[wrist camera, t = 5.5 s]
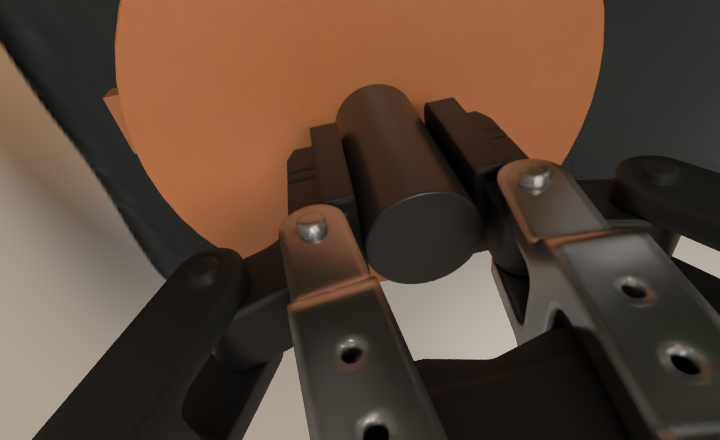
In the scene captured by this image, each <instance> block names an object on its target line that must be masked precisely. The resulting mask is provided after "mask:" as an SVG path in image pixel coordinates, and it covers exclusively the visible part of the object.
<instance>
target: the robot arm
mask: <svg viewBox="0 0 720 440" xmlns="http://www.w3.org/2000/svg"><path fill="white" fill-rule="evenodd" d="M424 123H425V126H426V127H427V129H428V130H429V132H430V134H431V135H432V137H433V138H434V140H435V141H436V143H437V145H438V146H439V148H440V149H441V151H442V153H443V154H444V156H445V157H446V159H447V160H448V162H449V164H450V165H451V167H452V168H453V170H454V172H455V173H456V175H457V176H458V178H459V180H460V181H461V183H462V184H463V186H464V187H465V189H466V191H467V192H468V194H469V195H470V197H471V199H472V200H473V202H474V203H475V205H476V206H477V208H478V210H479V211H480V214H481V216H482V221H483V233H482V238H481V241H480V243H479V246H478V247H477V249H476V251H475V252H474V253H477V252H482V251H486V250H489V252H490V253H491V255H492V266H491V271H492V275H493V278H494V281H495V283H496V286H497V289H498V291H499V294H500V297H501V299H502V302H503V305H504V307H505V310H506V313H507V315H508V318H509V321H510V323H511V326H512V328H513V331H514V334H515V337H516V340H517V345H518V347H516V348H514V349H512V350H510V351H508V352H506V353H505V354H503V355H501V356H499V357H497V358H494V359H489V360H462V359H461V360H459V359H422V360H417V361H414V360H413V358H412V356H411V353H410V351H409V349H408V347H407V344H406V342H405V340H404V338H403V336H402V333H401V331H400V329H399V326H398V324H397V322H396V319H395V317H394V315H393V313H392V310H391V308H390V306H389V304H388V301H387V299H386V297H385V294H384V292H383V290H382V288H381V285H380V283H379V281H378V279H377V278H376V277H375V276H373V277H371V274H370V269H369V265H368V261H367V259H366V256H365V252H364V248H363V244H362V239H361V225H360V221H359V216H358V211H357V206H356V201H355V196H354V192H353V188H352V184H351V180H350V176H349V172H348V168H347V164H346V160H345V156H344V152H343V148H342V144H341V140H340V136H339V132H338V128H337V124H336V122H334V123H329V124H325V125H320V126H315V127H311V128H310V136H311V143H312V146H310V147H305V148H300V149H296V150H294V151H293V153H292V154H291V156H290V157H289V159H288V160H287V183H288V185H287V192H288V217H286V218H285V219H284V221H283V222H282V223H281V225H280V227H279V230H278V237H279V239H278V240H277V241H276V242H274V243H273V244H272V245H270V246H269V247H267V248H265V249H263V250H261V251H259V252H257V253H255V254H253V255H251V256H249V257H246V258H244V259H242V257H241V255H240V254H239V253H238V252H236V251H235V250H232V249H229V248H213V249H209V250H205V251H202V252H200V253H198V254H196V255H194V256H192V257H190V258H189V259H187V260H186V261H185V262H184V263H182V264H181V265H180V266H179V267H178V268H177V269H176V270H175V272H174V273H173V274H172V275H171V276H170V278H169V279H168V280H167V281H166V282H165V283H164V285H163V286H162V287H161V288H160V289H159V291H158V292H157V293H156V294H155V295H154V296H153V298H152V299H151V300H150V301H149V302H148V303H147V305H146V306H145V307H144V308H143V309H142V310H141V312H140V313H139V314H138V315H137V316H136V318H135V319H134V320H133V321H132V322H131V323H130V325H129V326H128V327H127V328H126V329H125V330H124V332H123V333H122V334H121V335H120V337H119V338H118V339H117V340H116V341H115V342H114V343H113V345H112V346H111V347H110V348H109V349H108V350H107V352H106V353H105V354H104V355H103V356H102V358H101V359H100V360H99V361H98V362H97V363H96V365H95V366H94V367H93V368H92V369H91V371H90V372H89V373H88V374H87V375H86V376H85V378H84V379H83V380H82V381H81V382H80V384H79V385H78V386H77V387H76V388H75V389H74V390H73V392H72V393H71V394H70V395H69V396H68V398H67V399H66V400H65V401H64V402H63V403H62V405H61V406H60V407H59V408H58V409H57V411H56V412H55V413H54V414H53V415H52V416H51V418H50V419H49V420H48V421H47V422H46V423H45V425H44V426H43V427H42V428H41V429H40V430H39V432H38V433H37V434H36V435H35V437H34V438H33V439H32V440H242V439H243V437H244V435H245V432H246V431H247V429H248V427H249V425H250V423H251V421H252V419H253V417H254V415H255V413H256V411H257V409H258V407H259V405H260V403H261V401H262V399H263V396H264V394H265V392H266V390H267V388H268V386H269V384H270V382H271V380H272V378H273V376H274V374H275V372H276V370H277V368H278V366H279V364H280V362H281V360H282V357H283V352H284V351H286V350H288V349H290V348H292V347H294V351H295V357H296V362H297V368H298V373H299V379H300V385H301V390H302V396H303V401H304V407H305V413H306V418H307V424H308V429H309V435H310V440H720V279H719V278H717V277H715V276H713V275H711V274H708V273H706V272H704V271H702V270H700V269H698V268H696V267H694V266H692V265H689V264H687V263H685V262H683V261H681V260H679V259H677V258H674V257H672V254H673V252H674V250H675V247H676V245H677V243H678V241H679V239H680V236H681V235H682V236H685V237H687V238H690V239H692V240H694V241H696V242H699V243H701V244H703V245H706V246H708V247H710V248H713V249H715V250H717V251H720V173H717V172H714V171H711V170H708V169H704V168H701V167H698V166H695V165H692V164H689V163H686V162H682V161H679V160H676V159H672V158H668V157H662V156H637V157H632V158H629V159H626V160H624V161H622V162H621V163H620V164H619V165H618V166H617V168H616V172H615V175H614V179H613V180H574V178H573V177H572V176H571V175H570V173H569V172H568V171H567V170H566V169H565V168H563V167H562V166H560V165H558V164H556V163H554V162H551V161H547V160H541V159H530V158H529V157H528V156H527V155H526V154H525V153H524V152H523V151H522V150H521V149H520V148H519V147H518V146H517V145H516V144H515V143H514V141H513V140H512V139H511V138H510V137H507V134H506V133H505V132H504V131H503V130H502V129H500V127H499V126H498V125H497V124H496V123H495V121H494V120H493V119H492V118H491V117H488V116H486V115H484V114H481V113H479V112H477V111H473V112H468V113H467V112H466V111H465V110H464V109H463V108H462V106H461V105H460V104H459V103H458V102H457V101H456V99H455V98H453V97H451V98H446V99H442V100H437V101H432V102H428V103H425V105H424Z"/></svg>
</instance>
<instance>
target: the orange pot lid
mask: <svg viewBox="0 0 720 440" xmlns="http://www.w3.org/2000/svg"><path fill="white" fill-rule="evenodd" d="M603 44H604V4H603V0H120V4H119V10H118V19H117V28H116V37H115V65H116V82H117V88H118V93H119V99H120V104H121V109H122V114H123V117H124V120H125V123H126V126H127V129H128V132H129V135H130V138H131V141H132V144H133V146H134V148H135V150H136V152H137V154H138V157H139V159H140V161H141V163H142V165H143V167H144V169H145V171H146V173H147V174H148V176H149V177H150V179H151V180H152V182H153V183H154V185H155V186H156V188H157V189H158V191H159V192H160V194H161V195H162V196H163V198H164V199H165V200H166V201H167V202H168V203H169V205H170V206H171V207H172V208H173V209H174V210H175V212H176V213H177V214H178V215H179V216H180V217H181V218H182V219H183V220H184V221H185V222H186V223H187V224H189V225H190V226H191V227H192V228H193V229H194V230H195V231H196V232H197V233H198V234H200V235H201V236H202V237H204V238H205V239H207V240H208V241H209V242H211V243H212V244H214V245H215V246H216V247H218V248H229V249H232V250H235V251H236V252H238V253H239V254H240V255H241V257H242V259H244V258H246V257H249V256H251V255H253V254H255V253H257V252H259V251H261V250H263V249H265V248H267V247H269V246H270V245H272V244H273V243H274V242H276V241H277V240H278V239H279V237H278V230H279V227H280V225H281V223H282V222H283V221H284V219H285V218H286V217H288V192H287V185H288V183H287V160H288V159H289V157H290V156H291V154H292V153H293V151H294V150H296V149H300V148H305V147H310V146H312V143H311V136H310V128H311V127H315V126H320V125H325V124H329V123H334V122H336V124H337V128H338V132H339V136H340V140H341V144H342V148H343V152H344V156H345V160H346V164H347V168H348V172H349V176H350V180H351V184H352V188H353V192H354V196H355V201H356V206H357V211H358V216H359V221H360V225H361V239H362V244H363V248H364V252H365V256H366V259H367V261H368V265H369V269H370V274H371V277H373V276H375V277H376V278H377V279H378V281H379V282H381V281H386V280H390V281H393V282H397V283H403V284H420V283H426V282H430V281H434V280H437V279H439V278H442V277H444V276H446V275H449V274H450V273H452V272H453V271H455V270H456V269H458V268H460V267H461V266H462V265H463V264H464V263H466V262H467V261H468V260H469V259H470V257H471V256H472V255H473V254H474V252H475V251H476V249H477V247H478V246H479V243H480V241H481V238H482V233H483V221H482V216H481V214H480V211H479V210H478V208H477V206H476V205H475V203H474V202H473V200H472V199H471V197H470V195H469V194H468V192H467V191H466V189H465V187H464V186H463V184H462V183H461V181H460V180H459V178H458V176H457V175H456V173H455V172H454V170H453V168H452V167H451V165H450V164H449V162H448V160H447V159H446V157H445V156H444V154H443V153H442V151H441V149H440V148H439V146H438V145H437V143H436V141H435V140H434V138H433V137H432V135H431V134H430V132H429V130H428V129H427V127H426V126H425V123H424V105H425V103H428V102H432V101H437V100H442V99H446V98H451V97H453V98H455V99H456V101H457V102H458V103H459V104H460V105H461V106H462V108H463V109H464V110H465V111H466V112H467V113H468V112H473V111H477V112H479V113H481V114H484V115H486V116H488V117H491V118H492V119H493V120H494V121H495V123H496V124H497V125H498V126H499V127H500V129H502V130H503V131H504V132H505V133H506V134H507V137H510V138H511V139H512V140H513V141H514V143H515V144H516V145H517V146H518V147H519V148H520V149H521V150H522V151H523V152H524V153H525V154H526V155H527V156H528V157H529V158H530V159H541V160H547V161H551V162H554V163H556V164H558V165H561V163H562V162H563V160H564V159H565V157H566V156H567V154H568V153H569V151H570V149H571V147H572V145H573V143H574V141H575V139H576V137H577V135H578V133H579V132H580V130H581V127H582V125H583V122H584V120H585V117H586V115H587V112H588V110H589V107H590V104H591V102H592V98H593V94H594V91H595V87H596V83H597V80H598V76H599V71H600V64H601V57H602V51H603Z"/></svg>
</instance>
